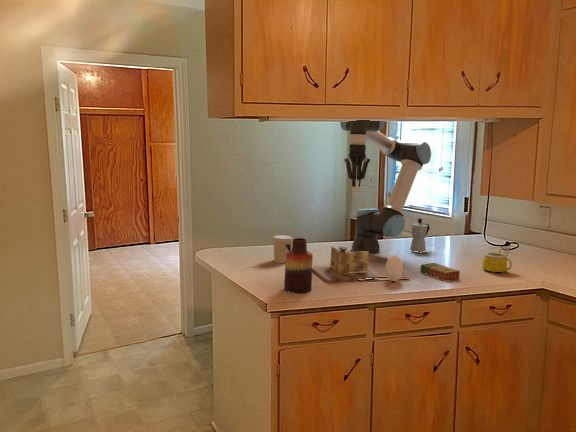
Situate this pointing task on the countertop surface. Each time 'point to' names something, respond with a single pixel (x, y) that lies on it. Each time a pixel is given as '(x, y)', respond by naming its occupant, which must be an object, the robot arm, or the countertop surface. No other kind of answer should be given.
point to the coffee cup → (281, 247)
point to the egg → (394, 268)
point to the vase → (298, 267)
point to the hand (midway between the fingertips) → (355, 193)
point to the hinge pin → (342, 249)
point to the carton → (440, 271)
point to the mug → (496, 261)
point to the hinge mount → (345, 267)
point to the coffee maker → (419, 236)
